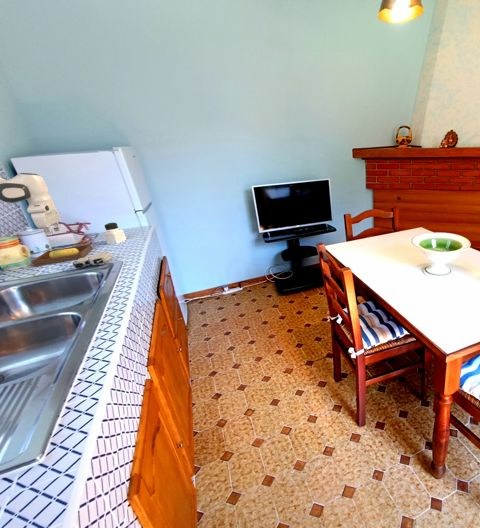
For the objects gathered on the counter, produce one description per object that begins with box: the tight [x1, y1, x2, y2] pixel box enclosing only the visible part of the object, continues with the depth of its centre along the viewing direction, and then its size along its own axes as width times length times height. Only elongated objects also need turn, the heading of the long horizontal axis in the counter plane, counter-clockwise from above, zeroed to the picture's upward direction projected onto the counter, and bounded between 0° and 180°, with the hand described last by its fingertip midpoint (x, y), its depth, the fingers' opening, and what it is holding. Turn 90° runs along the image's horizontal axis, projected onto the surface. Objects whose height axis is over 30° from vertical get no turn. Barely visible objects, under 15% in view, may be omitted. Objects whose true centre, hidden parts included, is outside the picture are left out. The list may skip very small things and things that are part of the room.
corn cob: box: [49, 247, 79, 258], centre depth 159 cm, size 12×4×4 cm, turn 117°
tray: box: [31, 244, 93, 268], centre depth 160 cm, size 19×19×3 cm
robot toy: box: [70, 250, 112, 269], centre depth 146 cm, size 12×4×15 cm
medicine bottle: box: [102, 222, 127, 245], centre depth 180 cm, size 7×7×12 cm
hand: (54, 233), depth 155 cm, fingers open, 8 cm apart
